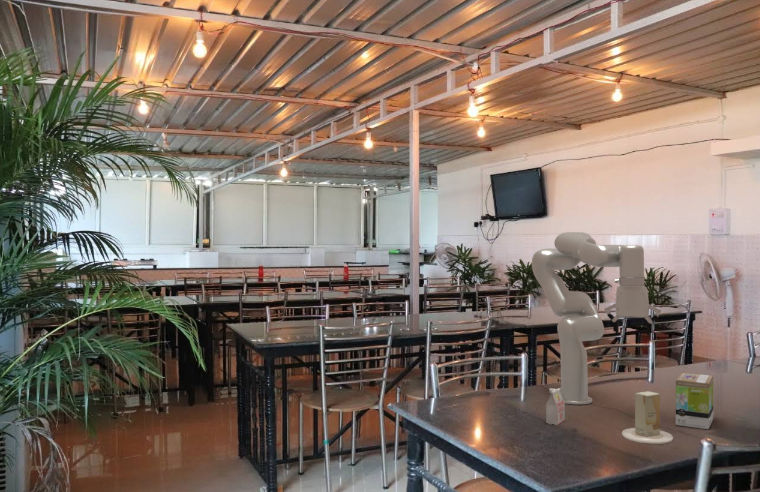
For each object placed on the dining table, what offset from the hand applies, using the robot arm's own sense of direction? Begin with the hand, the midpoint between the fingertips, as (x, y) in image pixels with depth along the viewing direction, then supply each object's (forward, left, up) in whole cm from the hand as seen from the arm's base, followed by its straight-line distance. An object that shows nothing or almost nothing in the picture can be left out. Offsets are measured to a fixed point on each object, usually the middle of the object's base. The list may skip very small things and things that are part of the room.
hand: (632, 334), depth 206 cm
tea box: (+18, +6, -28) cm, 34 cm away
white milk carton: (-23, -12, -28) cm, 38 cm away
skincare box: (+5, -18, -28) cm, 33 cm away
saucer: (+5, -18, -28) cm, 34 cm away
